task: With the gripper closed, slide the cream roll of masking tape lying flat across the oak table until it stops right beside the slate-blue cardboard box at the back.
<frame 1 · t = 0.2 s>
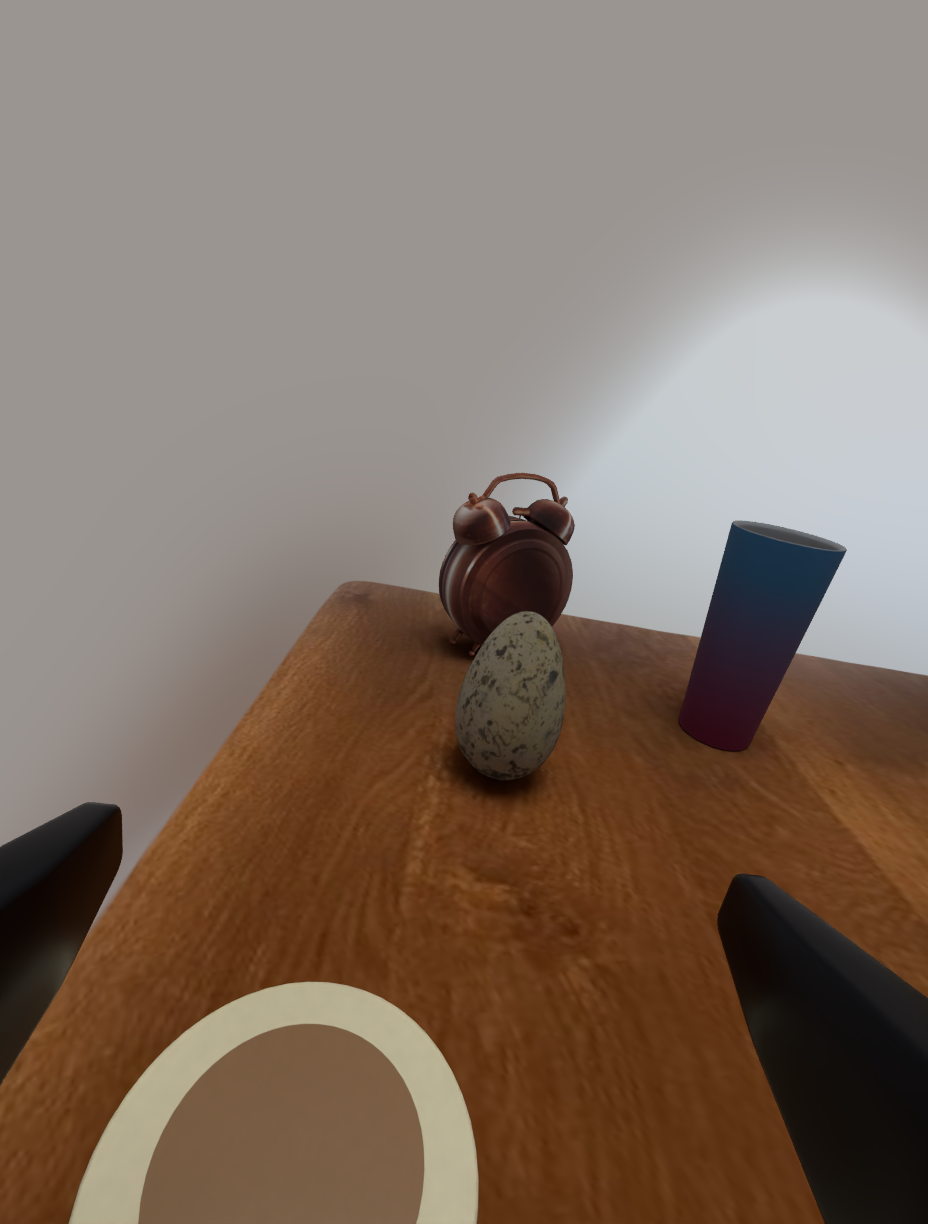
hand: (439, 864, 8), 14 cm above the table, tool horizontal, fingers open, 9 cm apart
decorative egg: (495, 773, 34), on the table
cup: (712, 733, 43), on the table
alarm clock: (491, 651, 50), on the table
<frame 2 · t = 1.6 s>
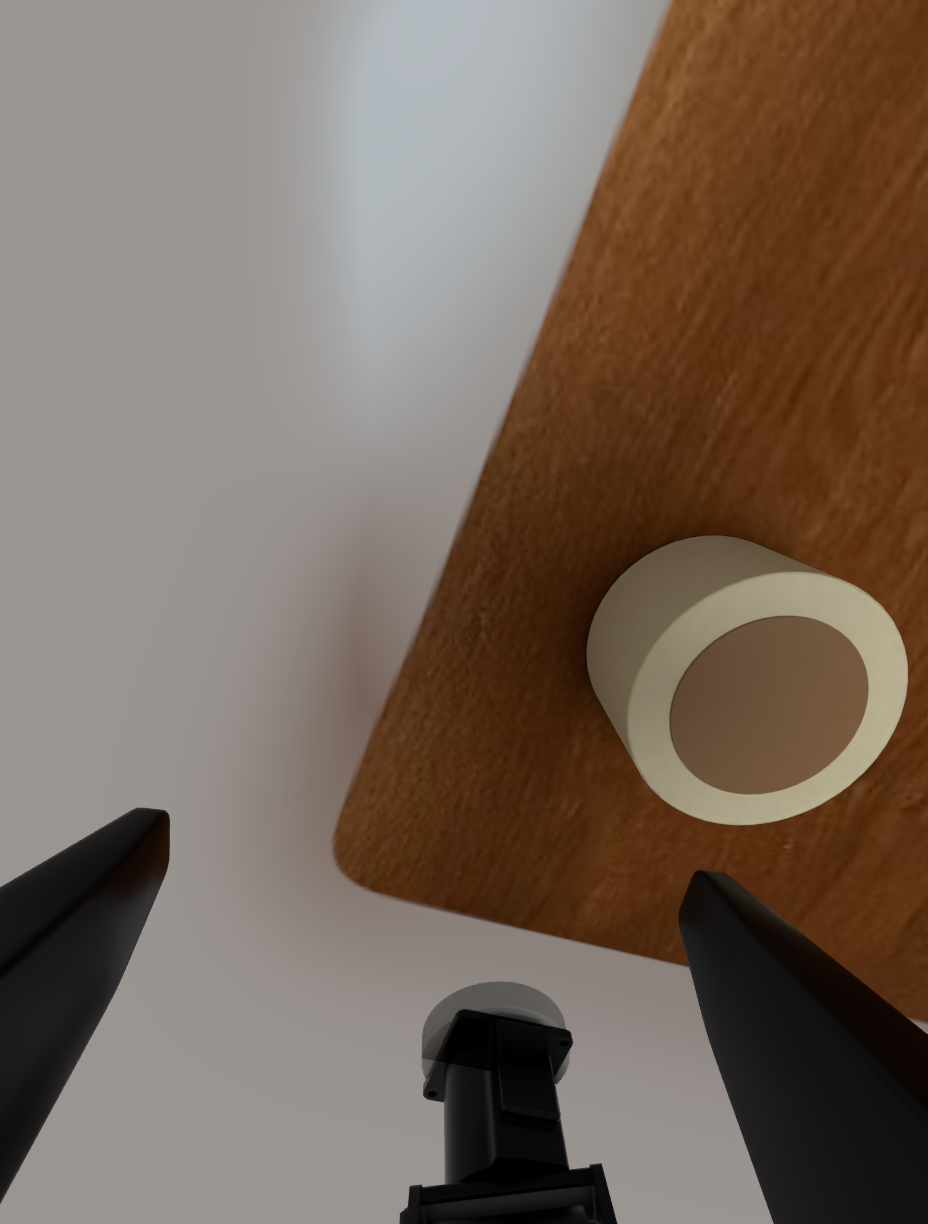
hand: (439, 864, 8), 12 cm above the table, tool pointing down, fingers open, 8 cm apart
tape: (696, 644, 21), on the table
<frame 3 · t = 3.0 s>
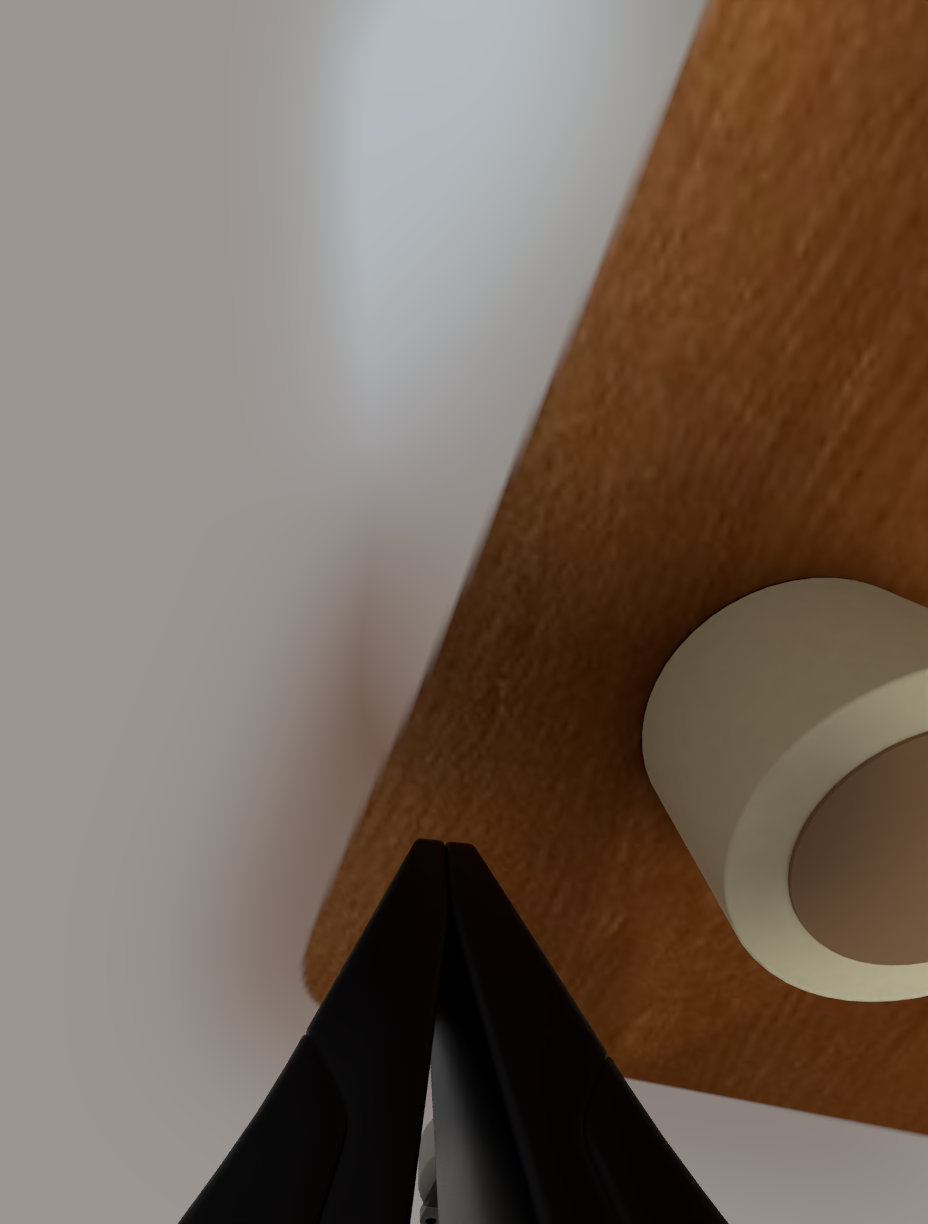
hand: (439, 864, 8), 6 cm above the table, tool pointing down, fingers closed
tape: (789, 721, 15), on the table
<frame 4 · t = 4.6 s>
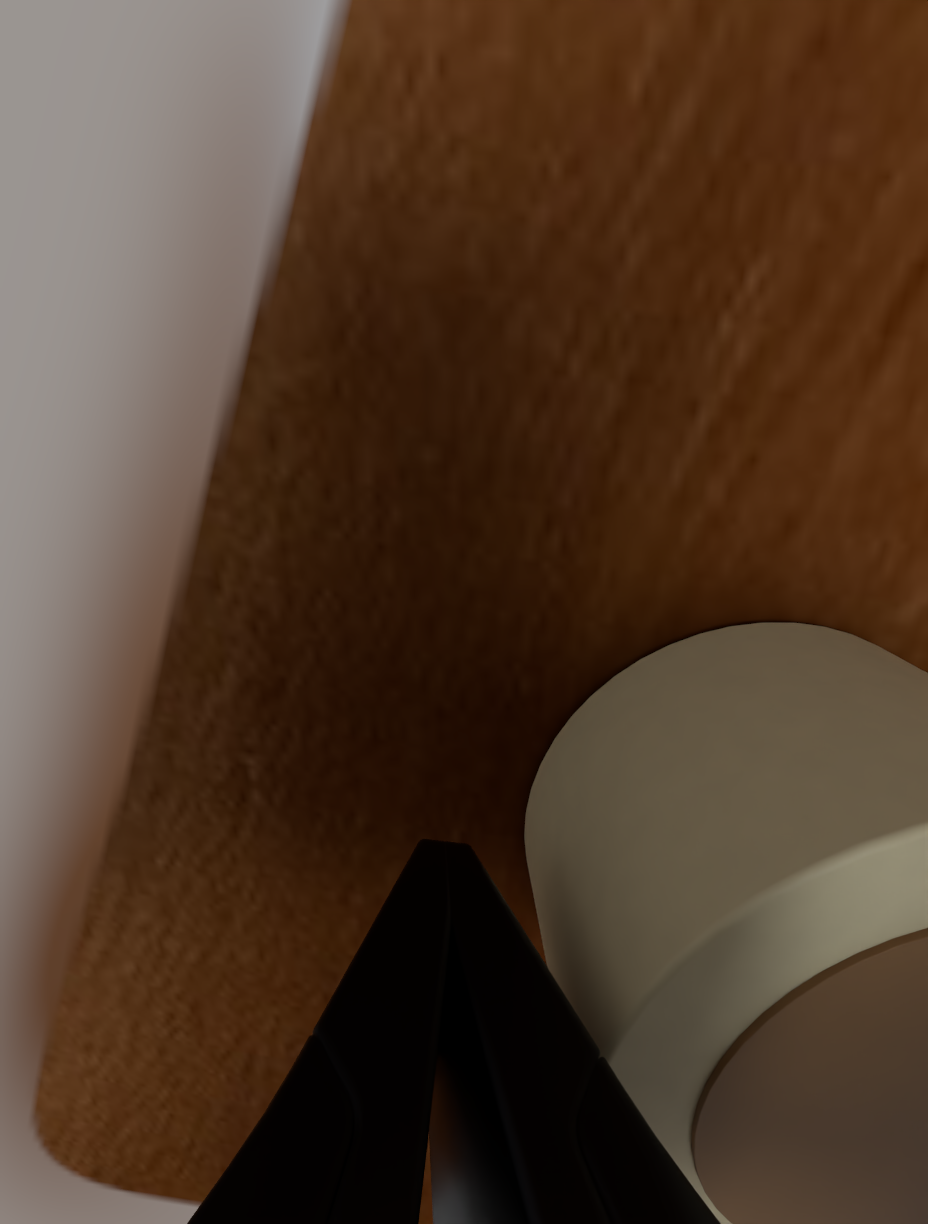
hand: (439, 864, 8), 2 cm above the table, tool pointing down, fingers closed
tape: (734, 818, 11), on the table, touching gripper
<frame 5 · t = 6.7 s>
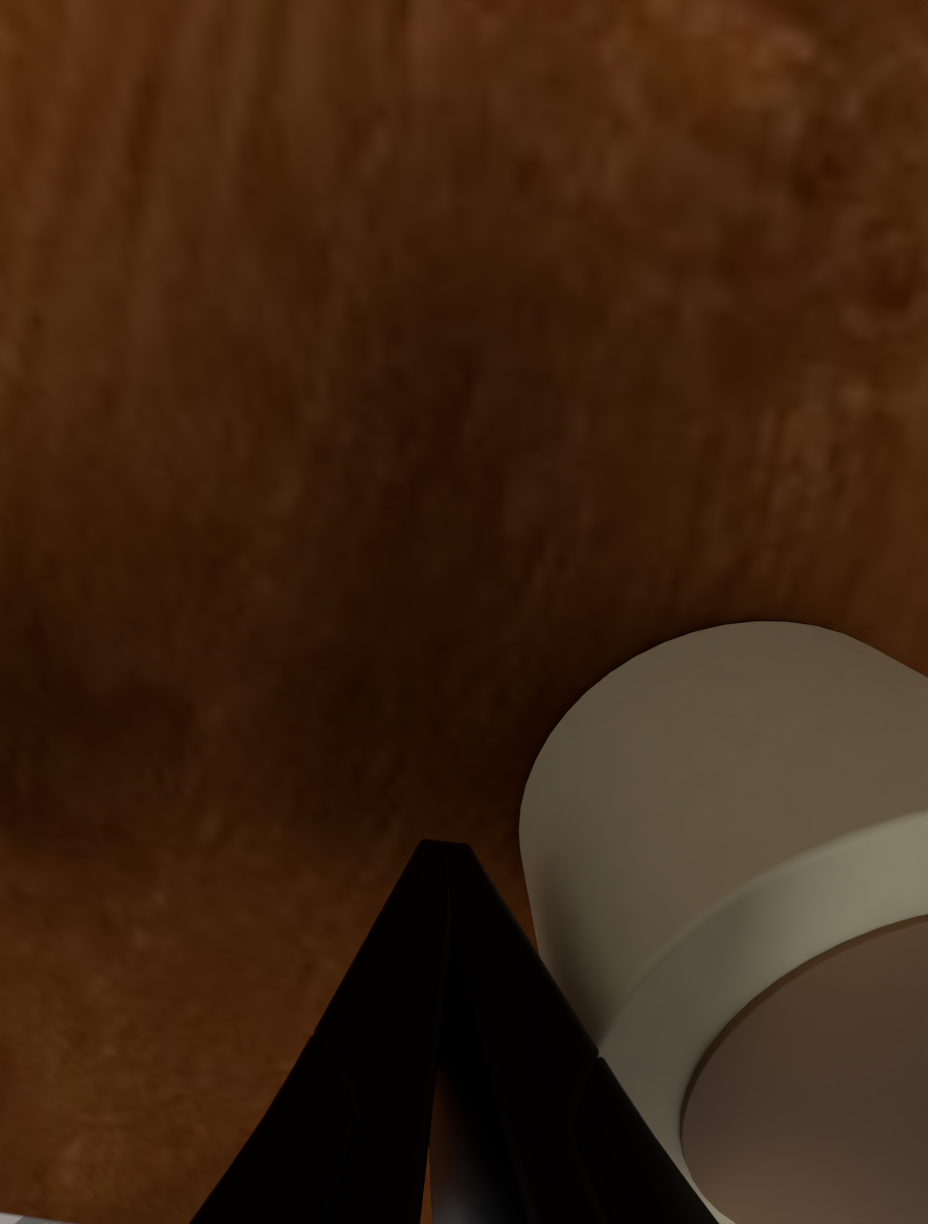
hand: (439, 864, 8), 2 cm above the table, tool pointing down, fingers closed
tape: (727, 816, 11), on the table, touching gripper
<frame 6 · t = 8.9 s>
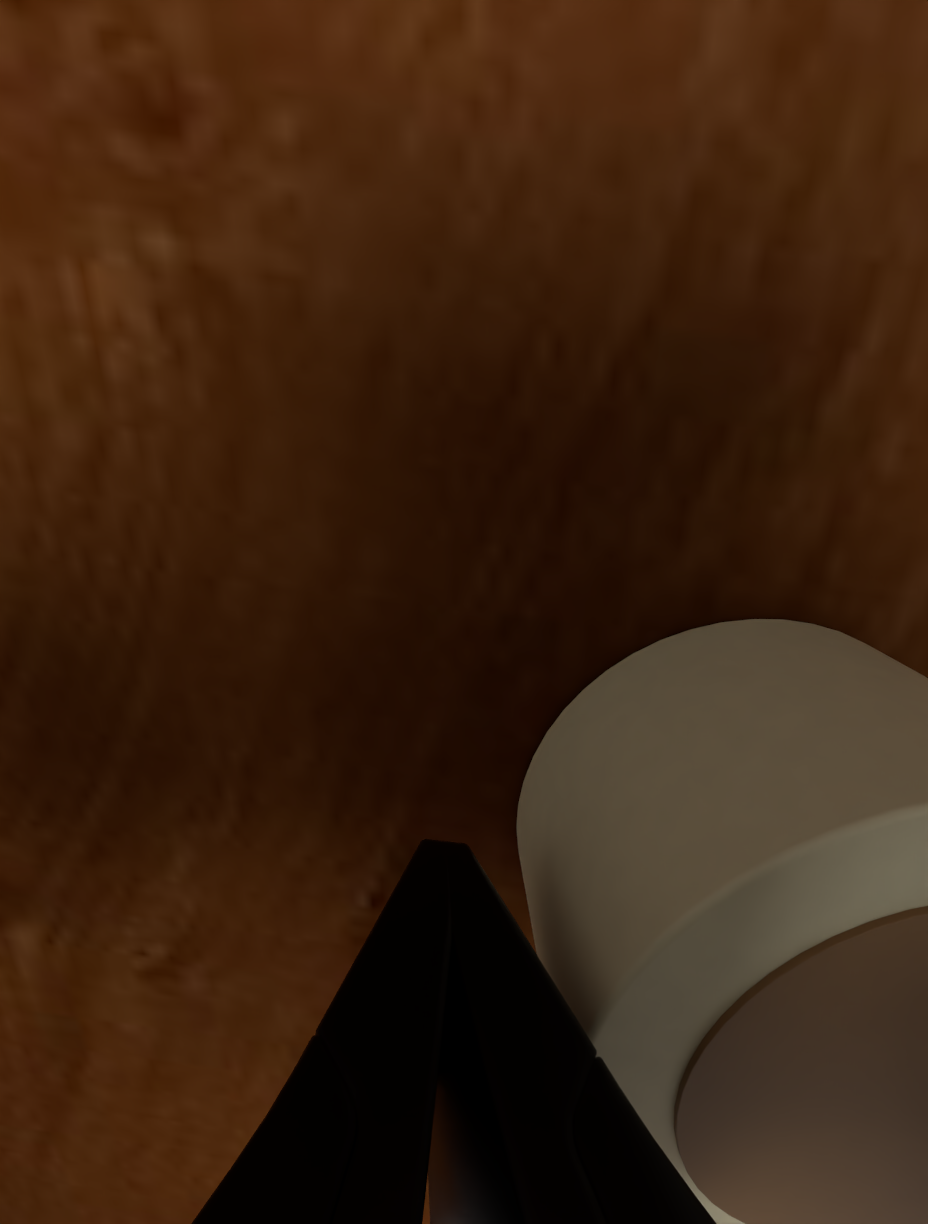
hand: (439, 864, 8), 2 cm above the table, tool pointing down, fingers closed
tape: (723, 813, 11), on the table, touching gripper
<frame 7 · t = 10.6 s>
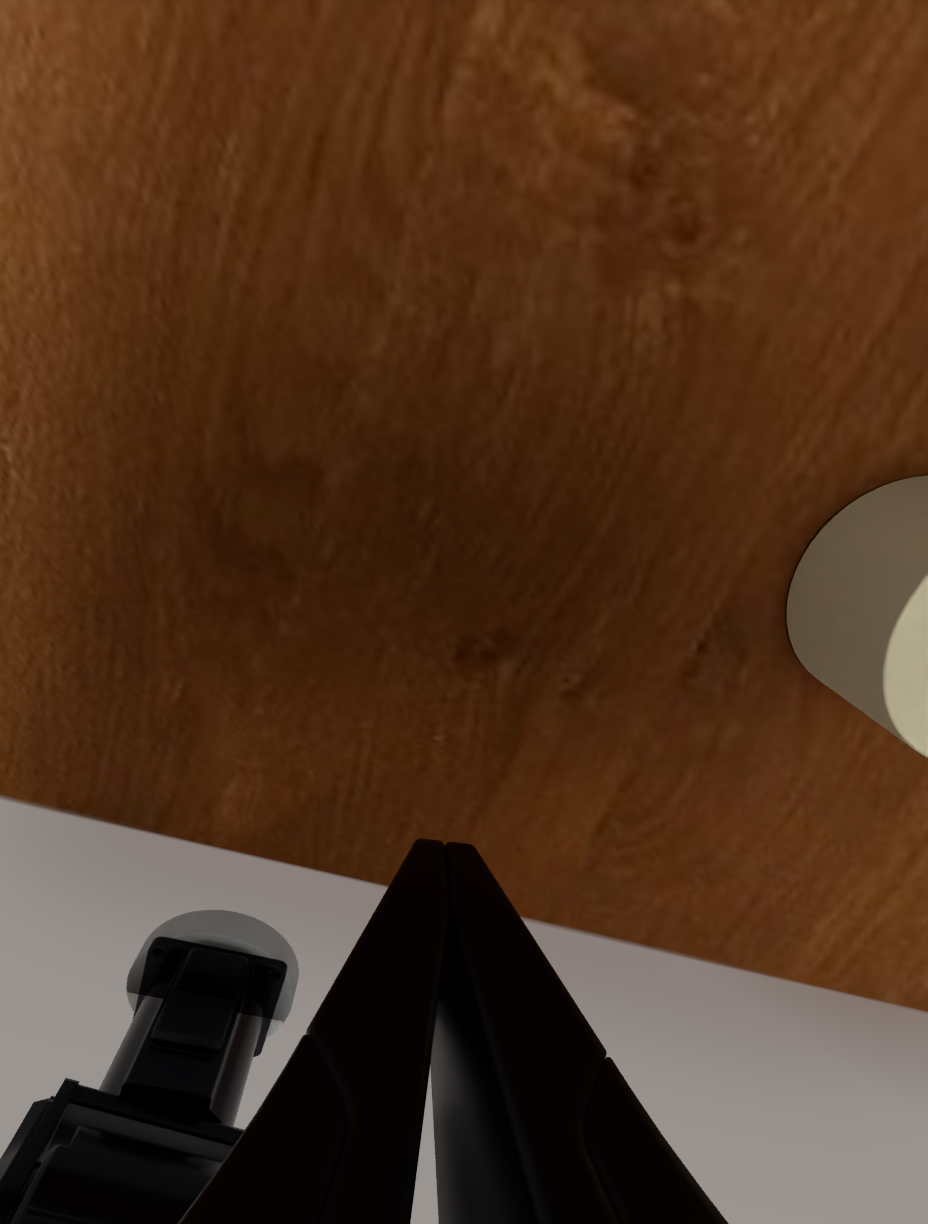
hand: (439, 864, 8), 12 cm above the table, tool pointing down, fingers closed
tape: (899, 592, 20), on the table
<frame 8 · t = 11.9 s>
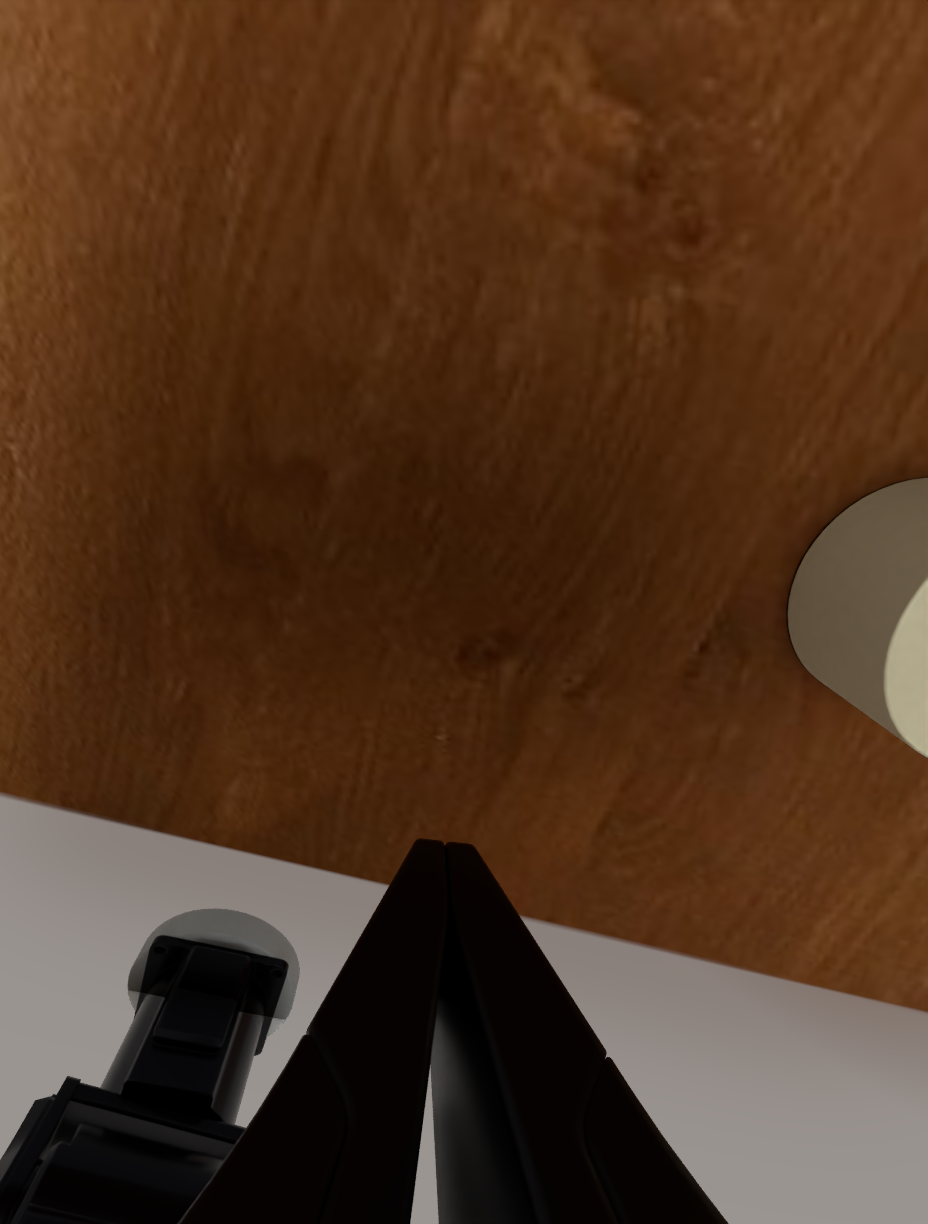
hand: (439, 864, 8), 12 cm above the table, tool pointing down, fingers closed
tape: (899, 593, 20), on the table
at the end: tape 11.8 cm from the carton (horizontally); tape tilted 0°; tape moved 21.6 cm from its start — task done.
